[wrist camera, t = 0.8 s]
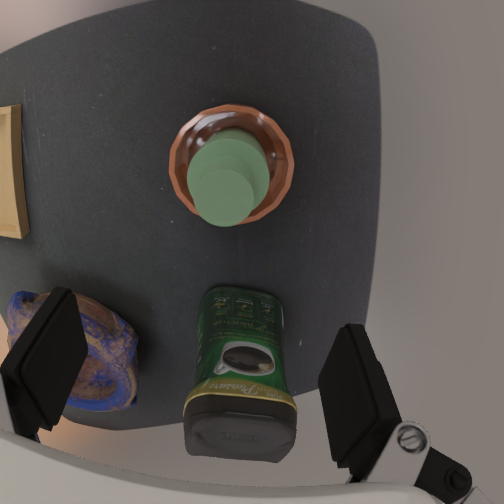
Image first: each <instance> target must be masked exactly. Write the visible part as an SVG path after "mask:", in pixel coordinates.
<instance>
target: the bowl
mask: <svg viewBox="0 0 504 504" xmlns="http://www.w3.org/2000/svg"><path fill="white" fill-rule="evenodd" d="M50 293H51V292H48V293H44V294H36V293H31V292H26V291H20V292H17V293H15V294H14V295H13V296H12V298H11V299H10V301H9V302H8V305H7V308H6V317H7V321H8V328H9V332H8V340H7V342H8V346H9V351H10V350H11V348H12V347H13V345H14V344H15V342H16V341H17V339H18V338H19V336H20V335H21V333H22V332H23V330H24V329H25V327H26V326H27V325H28V323H29V322H30V320H31V319H32V317H33V316H34V315H35V313H36V312H37V310H38V309H39V308H40V306H41V305H42V304H43V302H44V301H45V300H46V298H47V297H48V296H49V294H50ZM72 293H73V292H72ZM73 294H75V295H76V298H77V303H78V307H79V312H80V316H81V320H82V325H83V329H84V333H85V336H86V340H87V344H88V355H87V357H86V359H85V361H84V364H83V366H82V368H81V370H80V372H79V375H78V377H77V379H76V381H75V384H74V386H73V388H72V391H71V393H70V395H69V398H68V400H67V402H66V404H67V405H70V406H73V407H76V408H79V409H83V410H88V411H94V412H108V411H117V410H126V409H128V408H130V407H133V406H134V405H135V404H137V403H136V399H137V395H136V394H137V391H138V386H139V371H138V358H137V350H136V347H137V343H138V336H137V334H136V332H135V331H134V329H133V328H132V326H131V325H130V324H128V323H127V322H126V321H125V320H123V319H122V318H121V317H120V316H118V315H117V314H116V313H115V312H113V311H111V310H109V309H108V308H107V307H105V306H104V305H102V304H100V303H99V302H97V301H96V300H94V299H92V298H89V297H87V296H84V295H81V294H77V293H73Z"/></svg>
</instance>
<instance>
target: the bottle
mask: <svg viewBox="0 0 504 504" xmlns="http://www.w3.org/2000/svg"><path fill="white" fill-rule="evenodd" d="M269 182H270V174H269V169H268V165H267V161H266V157H265V154H264V150H263V147H262V144H261V142H260V141H259V139H258V138H257V137H256V136H255V135H254V134H253V133H252V132H250V131H249V130H247V129H244V128H241V127H225V128H222V129H220V130H218V131H216V132H215V133H213V134H212V135H211V136H210V137H209V139H208V140H207V141H206V142H205V143H204V144H203V146H202V147H201V148H200V149H199V150H198V152H197V153H196V154H195V155H194V157H193V158H192V160H191V162H190V164H189V168H188V172H187V184H188V188H189V191H190V194H191V196H192V198H193V199H194V205H195V208H196V210H197V212H198V213H199V215H200V216H201V217H202V218H203V219H204V220H205V221H207V222H209V223H210V224H213V225H216V226H221V227H228V226H233V225H236V224H238V223H240V222H242V221H243V220H244V219H246V218H247V216H248V215H249V214H250V212H251V211H252V210H254V209H255V208H256V207H257V206H258V205H259V204H260V203H261V202H262V201H263V199H264V197H265V196H266V194H267V191H268V188H269Z"/></svg>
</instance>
